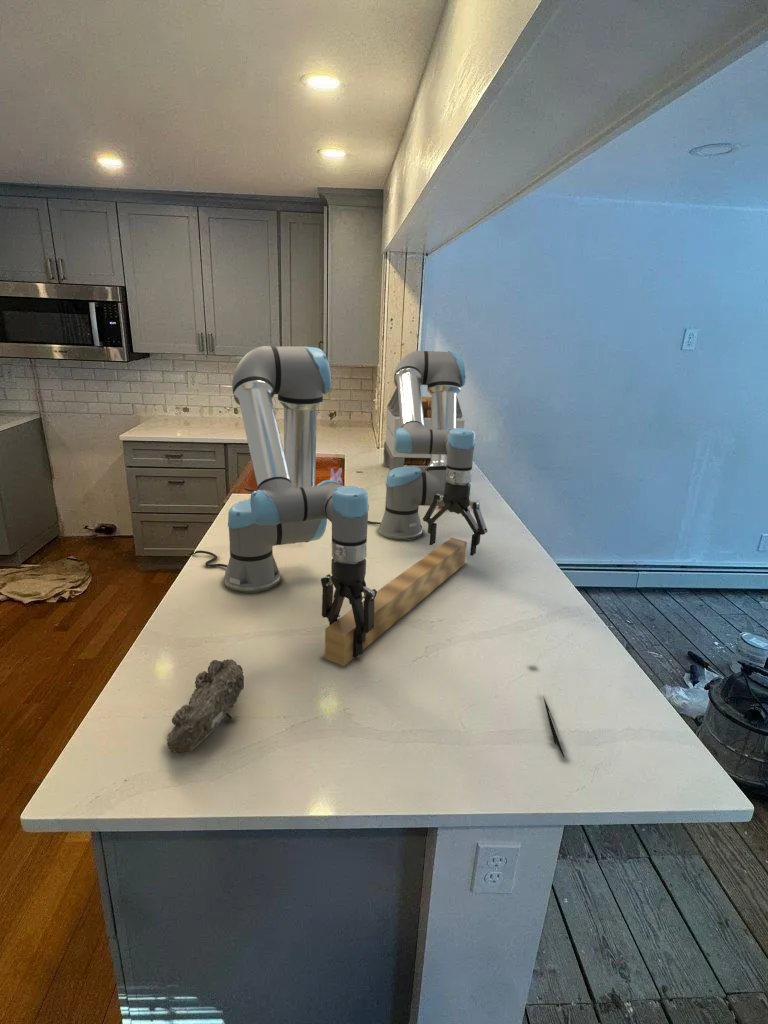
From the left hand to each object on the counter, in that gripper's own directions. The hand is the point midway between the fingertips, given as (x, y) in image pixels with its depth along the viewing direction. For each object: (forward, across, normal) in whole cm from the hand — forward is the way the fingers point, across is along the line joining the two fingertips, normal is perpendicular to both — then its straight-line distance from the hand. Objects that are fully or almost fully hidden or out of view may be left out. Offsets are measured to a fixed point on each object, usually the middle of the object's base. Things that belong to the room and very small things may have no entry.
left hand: (346, 650), depth 130 cm
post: (0, 0, +28) cm, 28 cm away
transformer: (0, -58, +144) cm, 156 cm away
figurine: (0, -61, +82) cm, 102 cm away
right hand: (-6, 0, +56) cm, 56 cm away
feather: (+1, +44, +7) cm, 45 cm away
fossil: (0, -9, -32) cm, 34 cm away
